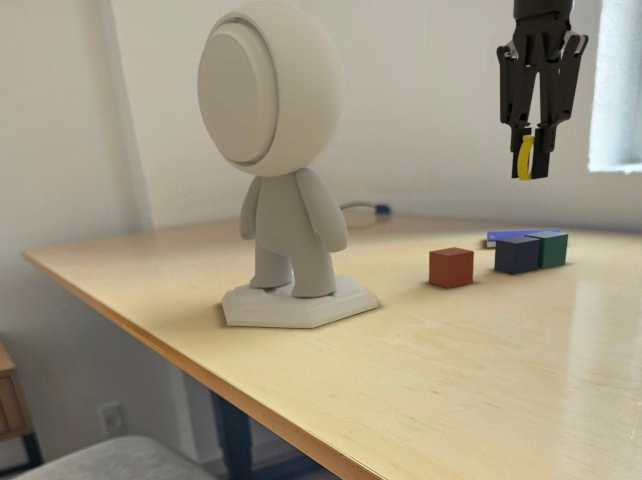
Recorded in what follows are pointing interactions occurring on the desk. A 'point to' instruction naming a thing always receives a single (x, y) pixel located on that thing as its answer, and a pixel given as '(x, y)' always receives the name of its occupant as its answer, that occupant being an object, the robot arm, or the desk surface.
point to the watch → (525, 158)
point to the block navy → (516, 254)
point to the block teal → (551, 248)
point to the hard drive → (508, 235)
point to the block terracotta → (451, 267)
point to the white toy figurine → (280, 160)
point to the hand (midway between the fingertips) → (529, 177)
